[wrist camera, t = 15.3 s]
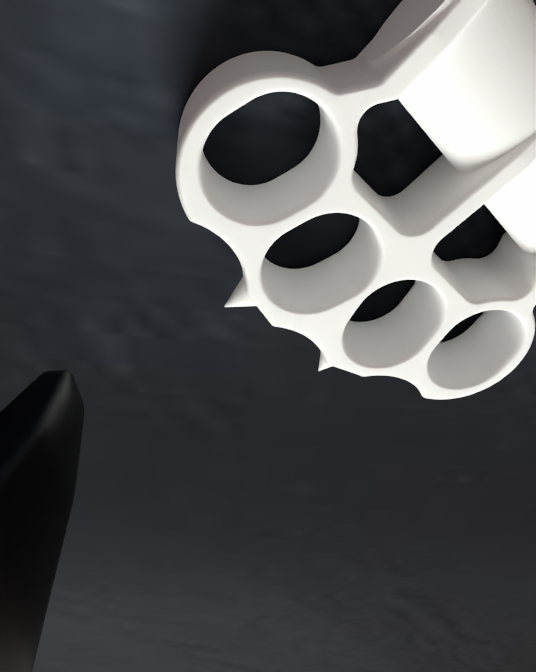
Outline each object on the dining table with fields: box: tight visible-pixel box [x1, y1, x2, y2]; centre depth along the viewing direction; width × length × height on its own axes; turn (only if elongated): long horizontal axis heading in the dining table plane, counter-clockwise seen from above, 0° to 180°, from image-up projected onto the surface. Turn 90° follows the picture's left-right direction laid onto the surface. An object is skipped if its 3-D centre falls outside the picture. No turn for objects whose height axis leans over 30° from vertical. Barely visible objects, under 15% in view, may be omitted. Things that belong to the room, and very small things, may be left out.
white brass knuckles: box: [176, 0, 536, 399], centre depth 20 cm, size 3×18×15 cm
